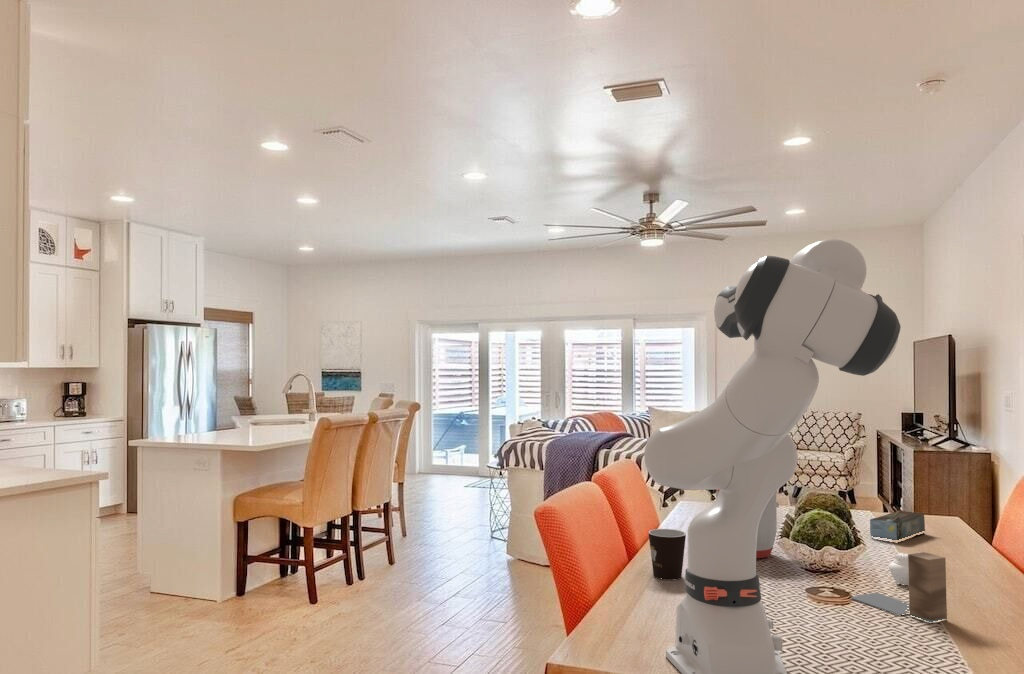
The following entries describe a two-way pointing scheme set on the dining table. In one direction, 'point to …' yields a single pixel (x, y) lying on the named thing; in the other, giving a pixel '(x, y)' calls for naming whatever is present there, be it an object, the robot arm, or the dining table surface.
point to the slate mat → (883, 602)
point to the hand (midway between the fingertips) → (779, 423)
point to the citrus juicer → (765, 528)
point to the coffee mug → (667, 552)
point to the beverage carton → (897, 525)
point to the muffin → (900, 569)
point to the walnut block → (927, 586)
